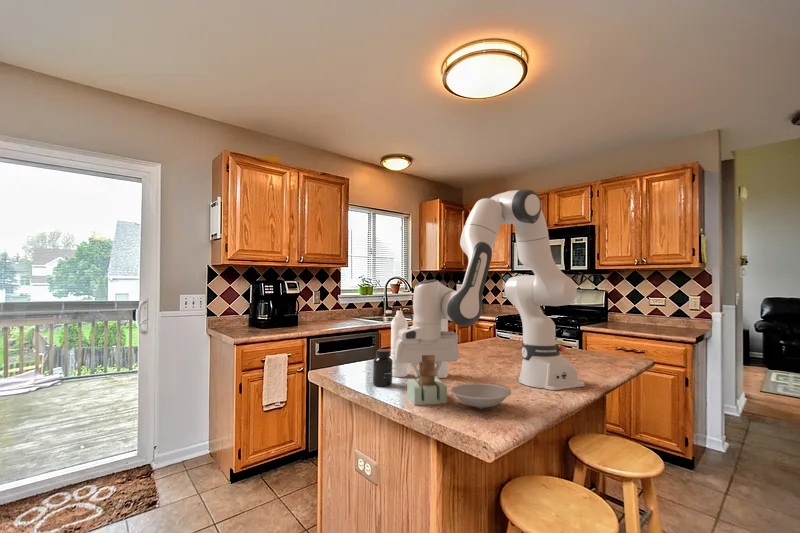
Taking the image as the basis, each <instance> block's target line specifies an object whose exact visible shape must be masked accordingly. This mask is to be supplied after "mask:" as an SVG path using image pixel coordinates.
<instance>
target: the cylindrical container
mask: <svg viewBox="0 0 800 533" xmlns="http://www.w3.org/2000/svg"><path fill="white" fill-rule="evenodd" d="M441 331H446V332H449V320H447V319H442V320H441ZM448 364H449V361H448V362H442V365H441V367H440V369H439V371H438V376H435V378H438V379H445V378H448V377H447V376H449V374H448V373H449V370H448V368H449V367H448ZM436 365H437V364H435V367H436Z"/></svg>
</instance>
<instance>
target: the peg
mask: <svg viewBox="0 0 800 533" xmlns="http://www.w3.org/2000/svg"><path fill="white" fill-rule="evenodd" d="M418 370H420V371H421V377H418V379H419V386H420V387H421V395H423V386H426V385H435V355H422V363H418Z"/></svg>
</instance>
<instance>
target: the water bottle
mask: <svg viewBox="0 0 800 533" xmlns="http://www.w3.org/2000/svg"><path fill="white" fill-rule="evenodd" d="M392 313H393V311H392V310H389V309H388V310H385V314H392ZM407 327H409V324H408V321H407V319H406V317H405V316H404V312H403V310H396V313H395V316H394V317H393V318H392V320H391V323H390V328H391V329H390V358H391V359H392V362H393V363H392V378H393V377H394V378H405V377H407V376H408V363H397V362H396V361H395V359H394V352H395V344H396V341H397V339H398V338H400V337H399V335H398V331H399V330H401V329H404V328H407Z"/></svg>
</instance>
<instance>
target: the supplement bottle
mask: <svg viewBox="0 0 800 533" xmlns="http://www.w3.org/2000/svg"><path fill="white" fill-rule="evenodd" d="M375 352H376V354H375V356H376V357H375V358H374V359H373V360H372V361H373V362H372V363H373V364H372V365H373V366H372V384H373V386H375V387H380V388H386V386H387V387H390V386H392V384H393V376H392V363H393V362H392V359H391V349H387V348H385V349H384V348H383V349H377V350H376V351H375Z"/></svg>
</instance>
